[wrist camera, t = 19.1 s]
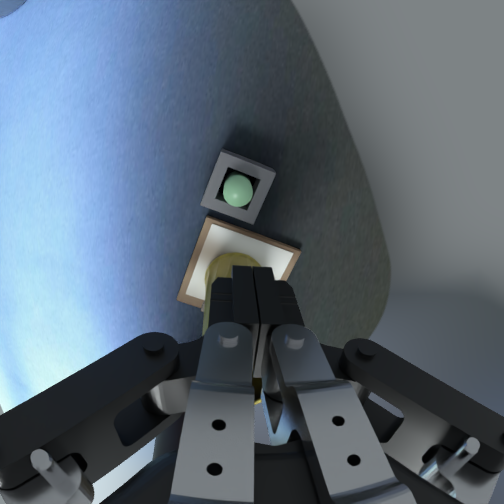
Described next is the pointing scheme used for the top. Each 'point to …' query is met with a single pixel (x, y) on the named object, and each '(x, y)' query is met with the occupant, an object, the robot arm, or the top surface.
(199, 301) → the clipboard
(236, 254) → the vase
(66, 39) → the top surface
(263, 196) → the button housing
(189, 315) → the top surface
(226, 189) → the button
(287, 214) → the top surface
